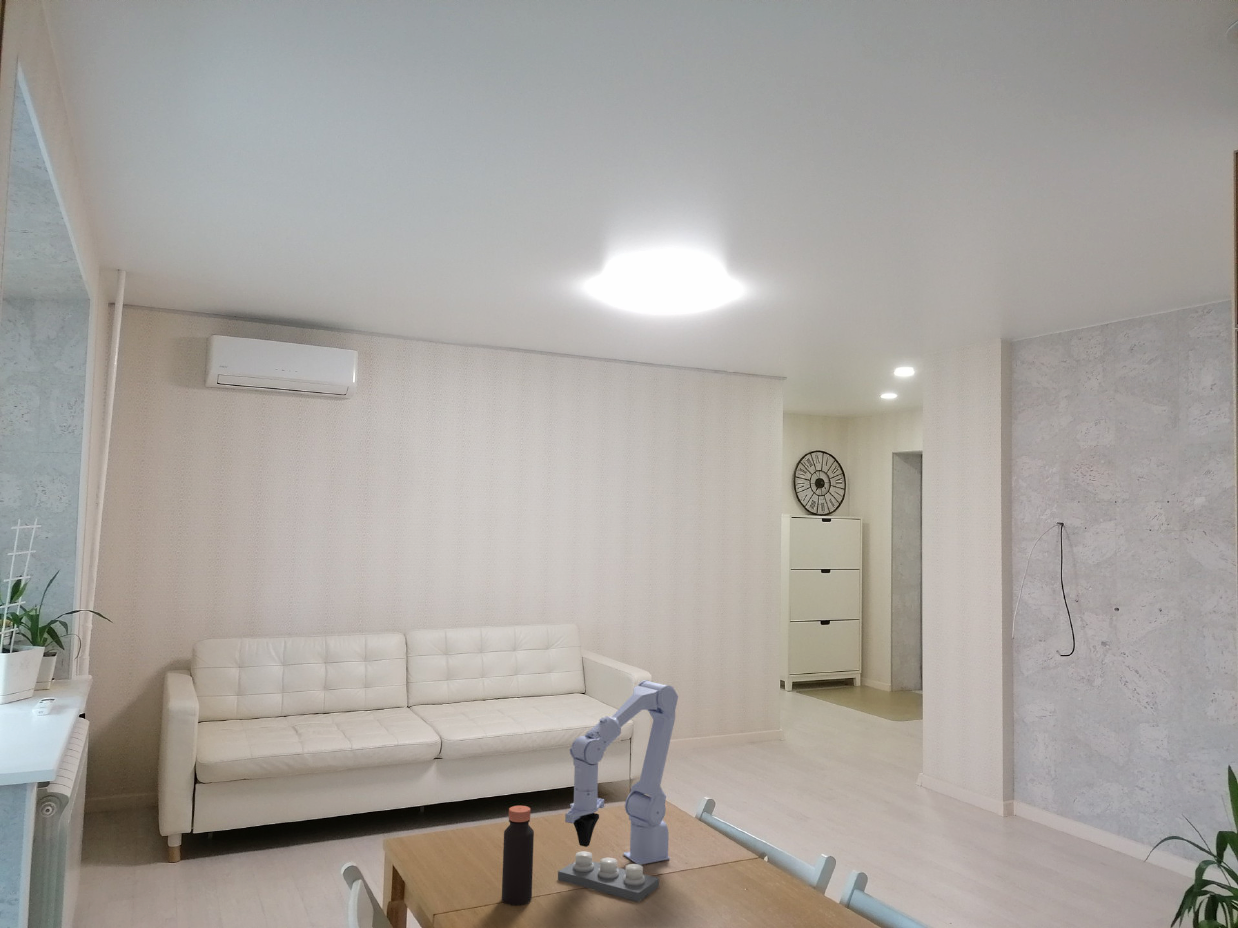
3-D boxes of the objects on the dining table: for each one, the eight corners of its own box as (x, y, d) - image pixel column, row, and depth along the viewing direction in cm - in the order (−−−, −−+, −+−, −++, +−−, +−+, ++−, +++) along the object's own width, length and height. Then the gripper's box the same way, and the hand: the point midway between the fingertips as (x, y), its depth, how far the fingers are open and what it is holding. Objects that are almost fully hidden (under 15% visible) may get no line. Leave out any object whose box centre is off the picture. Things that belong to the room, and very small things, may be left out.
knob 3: (645, 874, 205) (645, 866, 205) (637, 880, 202) (637, 871, 202) (630, 871, 207) (631, 862, 207) (622, 876, 204) (622, 867, 204)
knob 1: (595, 861, 212) (595, 853, 212) (586, 867, 209) (586, 858, 209) (581, 858, 214) (581, 849, 214) (572, 863, 211) (572, 854, 211)
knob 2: (620, 868, 209) (620, 859, 209) (611, 873, 205) (611, 865, 205) (605, 864, 211) (605, 856, 211) (596, 870, 207) (597, 861, 207)
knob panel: (658, 886, 206) (659, 873, 207) (638, 901, 198) (638, 888, 198) (580, 866, 218) (580, 853, 218) (557, 879, 209) (558, 866, 209)
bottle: (517, 890, 202) (520, 801, 203) (538, 899, 198) (540, 808, 199) (495, 899, 197) (498, 808, 198) (516, 908, 193) (519, 815, 194)
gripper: (587, 777, 221) (586, 832, 220) (555, 792, 209) (553, 850, 208) (611, 782, 217) (610, 838, 217) (580, 797, 205) (578, 857, 204)
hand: (584, 845), depth 212 cm, fingers closed
